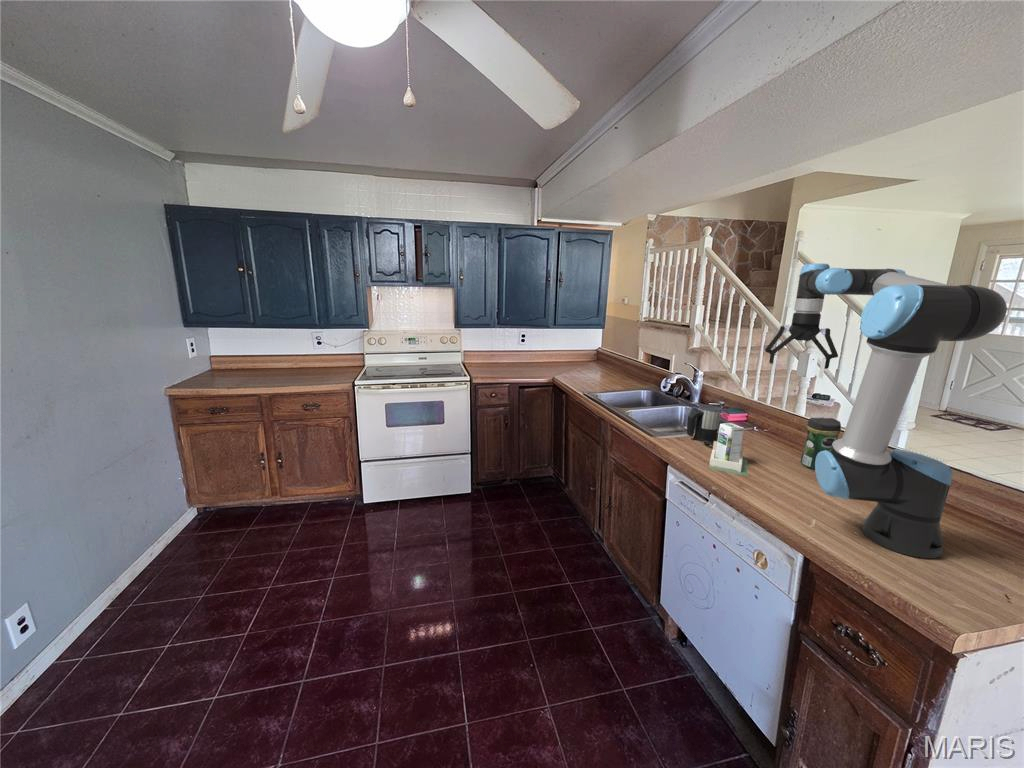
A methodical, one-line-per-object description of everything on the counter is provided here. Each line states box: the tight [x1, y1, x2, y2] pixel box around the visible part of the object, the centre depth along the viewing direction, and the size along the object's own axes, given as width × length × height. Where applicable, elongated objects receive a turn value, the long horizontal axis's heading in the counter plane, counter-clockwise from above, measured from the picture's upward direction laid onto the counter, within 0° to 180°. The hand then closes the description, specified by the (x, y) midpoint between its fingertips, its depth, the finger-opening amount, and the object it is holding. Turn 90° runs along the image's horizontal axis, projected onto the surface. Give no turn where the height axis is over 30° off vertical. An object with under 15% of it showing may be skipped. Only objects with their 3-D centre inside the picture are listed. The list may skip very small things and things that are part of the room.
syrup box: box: [715, 422, 745, 463], centre depth 148 cm, size 6×6×14 cm
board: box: [708, 458, 749, 477], centre depth 150 cm, size 16×12×1 cm
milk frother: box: [686, 404, 722, 447], centre depth 170 cm, size 14×16×15 cm
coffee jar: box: [800, 417, 842, 470], centre depth 149 cm, size 10×8×19 cm
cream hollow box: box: [708, 440, 745, 472], centre depth 150 cm, size 11×10×6 cm
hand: (795, 375), depth 140 cm, fingers open, 13 cm apart
